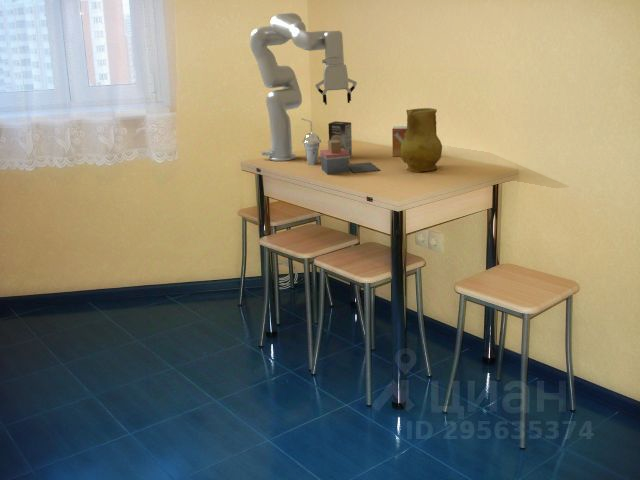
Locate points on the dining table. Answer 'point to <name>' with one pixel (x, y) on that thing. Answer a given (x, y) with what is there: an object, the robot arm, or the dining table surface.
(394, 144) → the small box
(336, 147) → the lid
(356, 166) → the mat
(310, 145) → the cup with straw
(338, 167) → the tin
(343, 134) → the coffee box
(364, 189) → the dining table surface
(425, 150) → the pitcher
